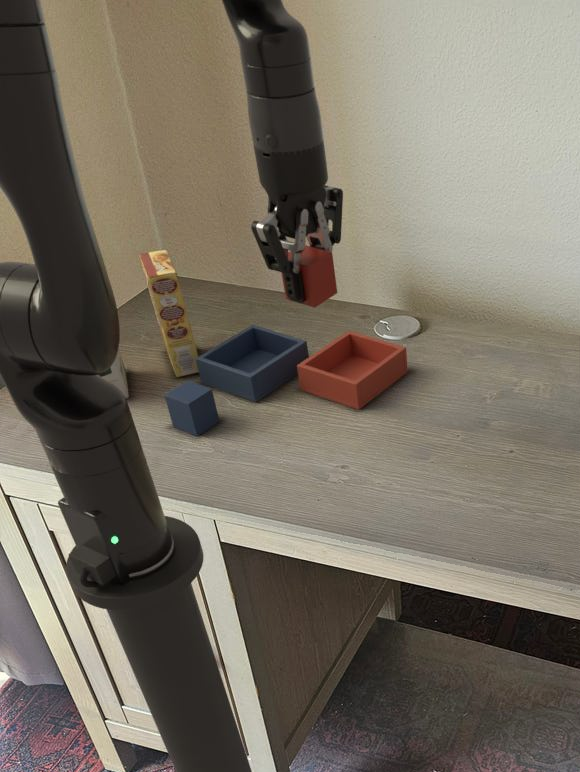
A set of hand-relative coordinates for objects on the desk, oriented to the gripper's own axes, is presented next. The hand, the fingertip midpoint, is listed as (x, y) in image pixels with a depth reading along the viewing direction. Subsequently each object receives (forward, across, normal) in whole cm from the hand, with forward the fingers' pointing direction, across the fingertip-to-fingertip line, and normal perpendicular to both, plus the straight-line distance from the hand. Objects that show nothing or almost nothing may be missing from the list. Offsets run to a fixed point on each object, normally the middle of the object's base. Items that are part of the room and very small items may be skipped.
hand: (311, 291), depth 105 cm
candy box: (+20, -4, -32) cm, 38 cm away
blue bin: (+20, -7, -20) cm, 29 cm away
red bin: (+20, -13, -6) cm, 25 cm away
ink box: (+20, +7, -36) cm, 41 cm away
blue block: (+20, +8, -18) cm, 28 cm away
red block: (+1, 0, 0) cm, 1 cm away
